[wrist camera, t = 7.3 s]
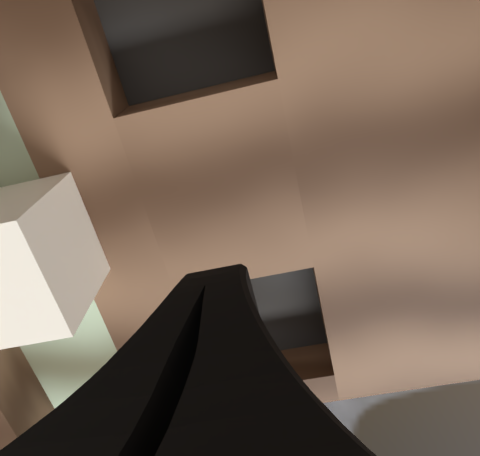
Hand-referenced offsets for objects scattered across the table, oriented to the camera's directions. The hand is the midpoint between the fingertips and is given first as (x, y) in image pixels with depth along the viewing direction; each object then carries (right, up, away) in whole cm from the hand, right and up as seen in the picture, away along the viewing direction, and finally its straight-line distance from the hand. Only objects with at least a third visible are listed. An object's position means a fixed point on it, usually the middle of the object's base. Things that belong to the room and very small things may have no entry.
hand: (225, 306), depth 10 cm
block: (-7, +2, +7) cm, 10 cm away
